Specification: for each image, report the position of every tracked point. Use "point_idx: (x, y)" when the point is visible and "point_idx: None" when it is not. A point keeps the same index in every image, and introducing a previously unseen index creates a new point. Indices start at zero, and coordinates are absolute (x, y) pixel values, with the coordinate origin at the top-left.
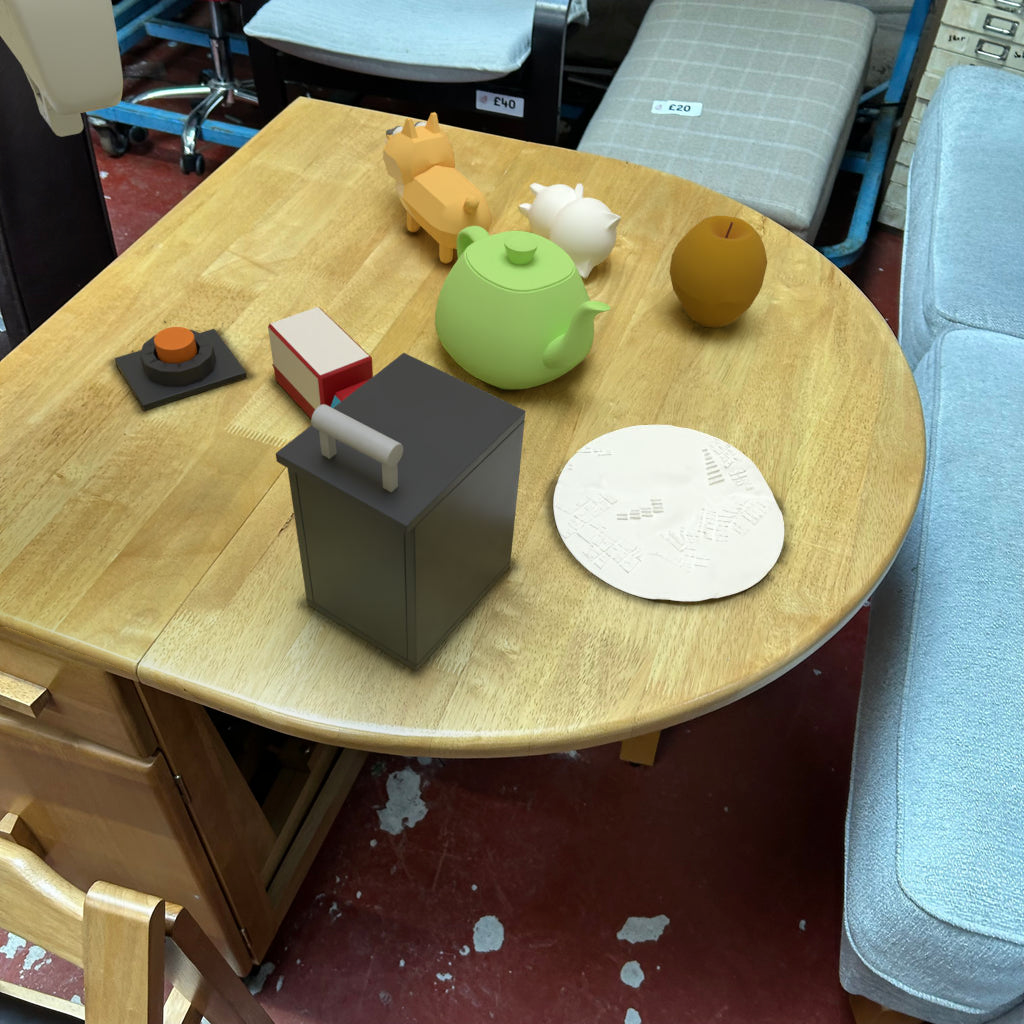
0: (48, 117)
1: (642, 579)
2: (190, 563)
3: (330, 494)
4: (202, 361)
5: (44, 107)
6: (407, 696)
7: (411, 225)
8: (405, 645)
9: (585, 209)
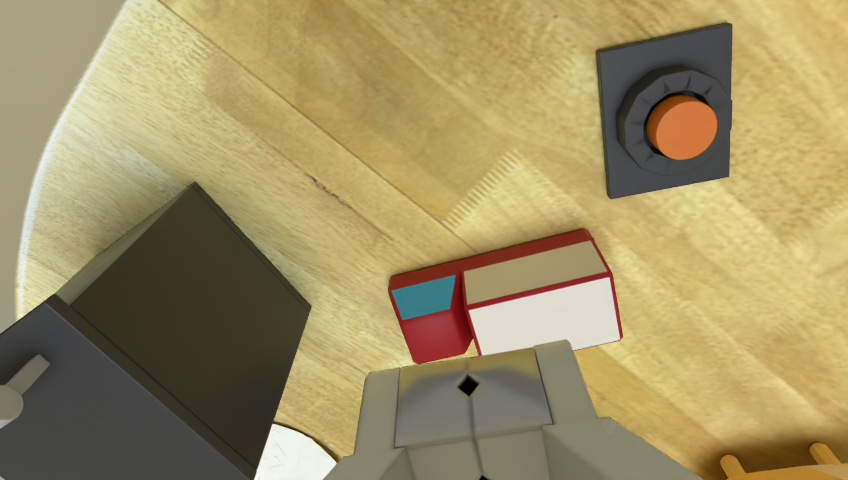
0: (377, 413)
1: None
2: (283, 68)
3: None
4: (632, 155)
5: (416, 431)
6: (66, 242)
7: (816, 452)
8: (83, 268)
9: None
